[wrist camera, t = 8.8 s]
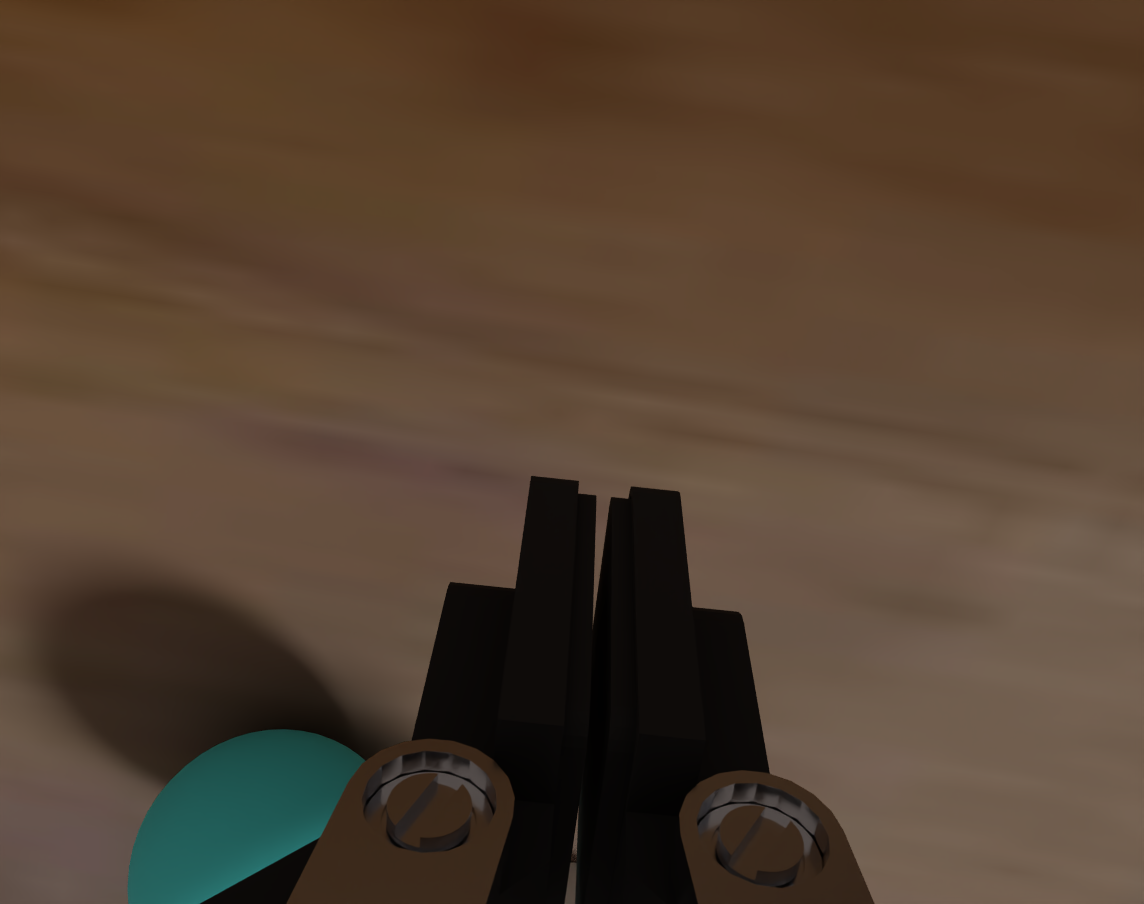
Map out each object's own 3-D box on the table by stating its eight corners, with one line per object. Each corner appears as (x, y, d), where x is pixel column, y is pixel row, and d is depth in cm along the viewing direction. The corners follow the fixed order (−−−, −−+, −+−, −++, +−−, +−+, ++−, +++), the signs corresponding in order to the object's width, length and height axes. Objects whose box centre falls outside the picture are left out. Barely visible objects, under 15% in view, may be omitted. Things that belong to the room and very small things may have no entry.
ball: (390, 767, 29) (429, 698, 24) (385, 1020, 26) (429, 1001, 21) (151, 765, 27) (141, 691, 22) (117, 1035, 24) (96, 1017, 19)
